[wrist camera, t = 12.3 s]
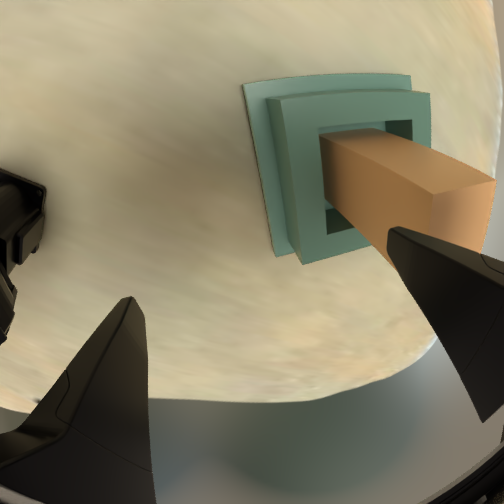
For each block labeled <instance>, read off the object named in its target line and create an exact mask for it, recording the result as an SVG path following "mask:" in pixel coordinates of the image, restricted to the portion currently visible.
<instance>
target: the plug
mask: <svg viewBox="0 0 504 504" xmlns="http://www.w3.org/2000/svg"><path fill="white" fill-rule="evenodd" d="M318 135H319V143H320V153H321V162H322V173H323V184H324V197H325V199H326V200H327V201H328V202H329V203H330V204H331V205H332V206H333V207H334V208H335V209H337V210H338V211H339V212H340V213H341V214H342V215H343V216H344V217H345V218H346V219H347V220H348V221H349V222H350V223H351V224H352V225H353V226H354V227H355V228H356V229H357V230H358V231H359V232H360V233H361V234H362V235H363V236H364V237H365V238H366V239H367V240H368V241H369V242H370V243H371V244H372V245H373V246H374V247H375V248H376V249H377V250H378V251H379V252H380V253H381V254H382V256H383V257H384V258H385V259H386V260H387V261H388V262H389V263H390V264H391V265H392V266H393V267H394V268H395V266H394V264H393V263H392V261H391V259H390V257H389V256H388V254H387V250H386V246H387V235H388V230H389V229H390V228H393V227H396V226H401V227H404V228H407V229H410V230H414V231H417V232H420V233H423V234H426V235H429V236H432V237H435V238H438V239H441V240H444V241H447V242H450V243H453V244H456V245H459V246H462V247H464V248H467V249H470V250H473V251H475V252H478V253H479V254H481V250H482V246H483V243H484V239H485V235H486V232H487V227H488V223H489V219H490V214H491V209H492V204H493V199H494V193H495V188H496V181H497V180H496V179H494V178H492V177H490V176H488V175H486V174H484V173H482V172H481V171H479V170H477V169H475V168H473V167H471V166H469V165H467V164H465V163H462V162H460V161H458V160H456V159H454V158H452V157H449V156H447V155H445V154H443V153H440V152H438V151H436V150H433V149H431V148H428V147H426V146H423V145H421V144H418V143H416V142H413V141H410V140H408V139H405V138H402V137H399V136H397V135H394V134H391V133H388V132H385V131H382V130H379V129H376V128H364V129H354V130H346V131H338V132H330V133H323V134H318ZM395 270H396V268H395ZM396 271H397V270H396ZM397 272H398V271H397Z"/></svg>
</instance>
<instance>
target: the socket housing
mask: <svg viewBox="0 0 504 504" xmlns="http://www.w3.org/2000/svg"><path fill="white" fill-rule="evenodd" d="M242 86H243V91H244V96H245V101H246V106H247V111H248V116H249V121H250V126H251V131H252V136H253V141H254V146H255V152H256V157H257V162H258V168H259V173H260V178H261V184H262V189H263V195H264V200H265V206H266V211H267V217H268V223H269V228H270V234H271V240H272V246H273V251H274V254H275V256H276V257H279V256H283V255H286V254H290V253H294V252H295V253H296V255H297V257H298V258H299V260H300V262H301V263H302V265H304V264H308V263H312V262H315V261H319V260H322V259H326V258H329V257H333V256H336V255H340V254H343V253H347V252H350V251H354V250H357V249H360V248H364V247H367V246H371V245H372V244H371V243H370V242H369V241H368V240H367V239H366V238H365V237H364V236H363V235H362V234H361V233H360V232H359V231H358V230H357V229H356V228H355V227H354V226H353V225H352V224H351V223H350V222H349V221H348V220H347V219H346V218H345V217H344V216H343V215H342V214H341V213H340V212H339V211H338V210H337V209H335V208H334V207H333V206H332V205H331V204H330V203H329V202H328V201H327V200H326V199H325V197H324V184H323V173H322V162H321V153H320V143H319V135H318V134H323V133H330V132H338V131H346V130H354V129H364V128H376V129H379V130H382V131H385V132H388V133H391V134H394V135H397V136H399V137H402V138H405V139H408V140H410V141H413V142H416V143H418V144H421V145H423V146H426V147H428V148H431V106H430V93H425V92H419V91H412V86H411V76H410V75H395V74H328V75H312V76H301V77H291V78H282V79H274V80H267V81H260V82H254V83H248V84H243V85H242Z"/></svg>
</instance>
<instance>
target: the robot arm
mask: <svg viewBox="0 0 504 504" xmlns="http://www.w3.org/2000/svg"><path fill="white" fill-rule="evenodd" d="M39 190H40V191H41V193H42V194H40V193H39ZM45 195H46V189H45V188H44V187H43V186H42V185H39V184H37V183H34V182H32V181H29V180H27V179H24V178H22V177H19V176H17V175H14V174H12V173H9V172H7V171H4V170H2V169H0V345H1V344H2V343H3V342H5V341H6V339H7V336H6V335H7V333H8V331H9V328H10V325H11V323H12V321H13V318H14V315H15V312H14V311H13V309H14V304H15V299H16V295H17V289H16V288H15V286H14V285H13V284H12V282H11V280H10V278H9V276H8V275H9V274H10V272H11V271H12V270H13V268H14V267H15V265H16V264H18V265H21V264H23V262H24V261H25V260H26V258H27V257H28V256H29V254H30V253H35V252H36V251H37V250H38V244H39V241H40V240H41V236H42V228H43V221H44V213H43V207H44V201H45ZM386 250H387V254H388V256H389V257H390V259H391V261H392V263H393V264H394V266H395V268H396V270H397V271H398V273H399V275H400V277H401V279H402V281H403V282H404V284H405V286H406V287H407V289H408V291H409V292H410V294H411V295H412V297H413V298H414V300H415V301H416V303H417V304H418V306H419V307H420V309H421V310H422V312H423V314H424V315H425V317H426V318H427V320H428V322H429V323H430V325H431V326H432V328H433V330H434V331H435V333H436V335H437V336H438V338H439V340H440V342H441V343H442V345H443V347H444V348H445V350H446V352H447V354H448V355H449V357H450V359H451V361H452V363H453V365H454V366H455V368H456V370H457V372H458V374H459V375H460V378H461V380H462V382H463V384H464V386H465V388H466V390H467V392H468V394H469V396H470V398H471V400H472V402H473V404H474V407H475V409H476V411H477V413H478V416H479V418H480V420H481V422H482V423H484V422H485V421H486V420H487V419H489V418H490V417H491V416H492V415H493V414H494V413H496V412H497V411H498V410H499V409H500V408H501V407H502V406H503V405H504V262H503V261H500V260H497V259H494V258H491V257H489V256H486V255H484V254H479V253H478V252H475V251H473V250H470V249H467V248H464V247H462V246H459V245H456V244H453V243H450V242H447V241H444V240H441V239H438V238H435V237H432V236H429V235H426V234H423V233H420V232H417V231H414V230H410V229H407V228H404V227H401V226H396V227H393V228H390V229H389V230H388V235H387V246H386ZM0 504H156V497H155V490H154V482H153V473H152V464H151V451H150V436H149V416H148V352H147V340H146V327H145V317H144V314H143V312H142V310H141V309H140V307H139V305H138V303H137V302H136V300H135V298H134V297H132V296H130V297H126V298H122V299H121V300H120V301H119V302H118V303H117V305H116V306H115V307H114V308H113V309H112V311H111V312H110V313H109V314H108V315H107V317H106V318H105V319H104V320H103V321H102V323H101V324H100V325H99V326H98V328H97V329H96V330H95V331H94V333H93V334H92V335H91V336H90V338H89V339H88V340H87V341H86V343H85V344H84V345H83V347H82V348H81V349H80V350H79V352H78V353H77V354H76V356H75V357H74V358H73V360H72V361H71V362H70V364H69V365H68V366H67V368H66V370H64V372H63V373H62V374H61V376H60V377H59V378H58V380H57V381H56V382H55V384H54V385H53V386H52V388H51V389H50V390H49V391H48V393H47V394H46V395H45V396H44V398H43V399H42V400H41V401H40V403H39V404H38V405H37V406H36V407H35V409H34V410H33V411H32V412H31V414H30V415H29V417H27V419H26V420H25V421H24V422H23V423H22V425H20V426H19V427H18V428H16V429H14V430H12V431H10V432H6V433H2V434H0ZM418 504H504V426H503V432H502V437H501V442H500V445H499V446H497V447H496V448H495V449H494V450H493V451H492V452H490V453H489V454H488V455H487V456H486V457H485V458H484V459H482V460H481V461H480V462H479V463H477V464H476V465H475V466H473V467H472V468H471V469H470V470H468V471H467V472H466V473H464V474H463V475H461V476H460V477H459V478H457V479H456V480H455V481H453V482H452V483H450V484H449V485H447V486H446V487H444V488H442V489H441V490H439V491H438V492H436V493H435V494H433V495H431V496H430V497H428V498H427V499H425V500H423V501H421V502H420V503H418Z"/></svg>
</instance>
